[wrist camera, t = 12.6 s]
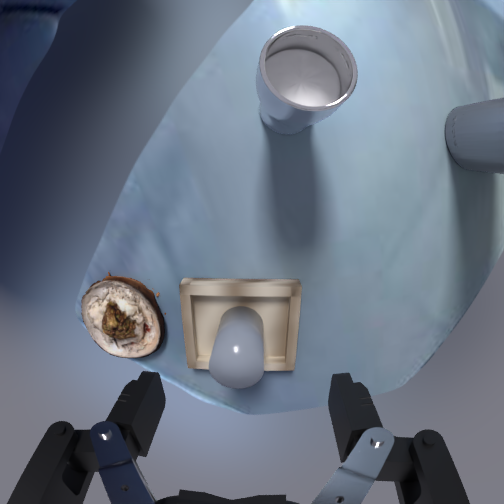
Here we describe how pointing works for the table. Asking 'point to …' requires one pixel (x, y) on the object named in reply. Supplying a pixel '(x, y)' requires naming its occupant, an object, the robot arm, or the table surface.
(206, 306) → the birch tray
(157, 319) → the stuffed round slice
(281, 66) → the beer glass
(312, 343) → the table surface
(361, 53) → the table surface
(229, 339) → the grey rounded cylinder
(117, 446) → the robot arm
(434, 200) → the table surface
